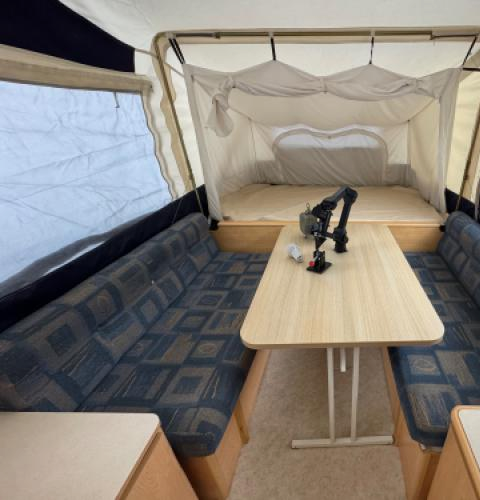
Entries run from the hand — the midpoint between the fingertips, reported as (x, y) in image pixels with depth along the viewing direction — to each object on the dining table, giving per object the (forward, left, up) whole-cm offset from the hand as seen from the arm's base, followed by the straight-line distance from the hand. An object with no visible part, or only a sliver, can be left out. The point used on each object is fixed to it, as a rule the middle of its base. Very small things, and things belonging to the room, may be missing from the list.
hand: (316, 249), depth 142 cm
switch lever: (+1, +2, -6) cm, 6 cm away
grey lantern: (-16, -42, -11) cm, 46 cm away
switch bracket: (-2, 0, -11) cm, 11 cm away
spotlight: (+5, -17, -11) cm, 21 cm away
